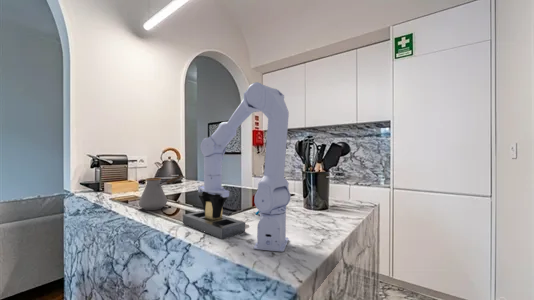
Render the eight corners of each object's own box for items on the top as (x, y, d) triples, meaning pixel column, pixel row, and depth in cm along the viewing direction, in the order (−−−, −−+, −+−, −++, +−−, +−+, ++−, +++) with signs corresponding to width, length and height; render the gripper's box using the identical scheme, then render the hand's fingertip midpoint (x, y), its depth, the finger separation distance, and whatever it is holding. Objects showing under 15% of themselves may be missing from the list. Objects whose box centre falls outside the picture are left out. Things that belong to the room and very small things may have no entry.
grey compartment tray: (245, 231, 79) (245, 222, 79) (221, 239, 72) (222, 228, 72) (205, 218, 94) (205, 210, 94) (182, 223, 87) (182, 214, 87)
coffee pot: (132, 209, 106) (132, 174, 106) (152, 204, 117) (152, 172, 117) (174, 214, 99) (174, 176, 99) (191, 208, 110) (192, 173, 110)
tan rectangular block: (222, 222, 84) (222, 201, 84) (212, 224, 81) (212, 202, 81) (214, 220, 86) (215, 199, 86) (204, 222, 83) (205, 201, 84)
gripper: (236, 175, 81) (236, 218, 81) (210, 172, 91) (210, 210, 91) (218, 177, 76) (218, 222, 76) (192, 174, 86) (192, 214, 86)
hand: (212, 216), depth 83 cm, fingers closed on tan rectangular block, 4 cm apart
